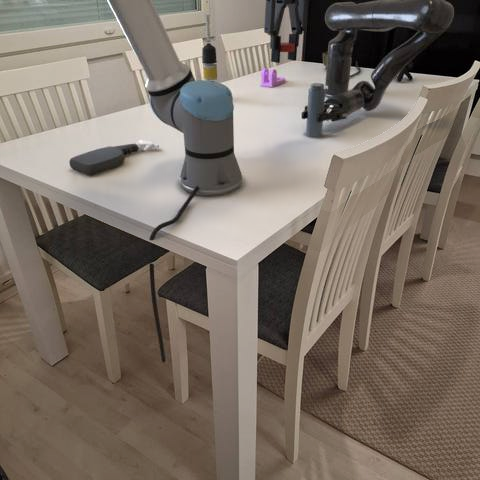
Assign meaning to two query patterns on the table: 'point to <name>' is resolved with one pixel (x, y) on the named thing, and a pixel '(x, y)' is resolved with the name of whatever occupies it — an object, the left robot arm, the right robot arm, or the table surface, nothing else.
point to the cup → (325, 59)
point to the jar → (315, 109)
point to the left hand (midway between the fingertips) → (283, 60)
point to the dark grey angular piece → (405, 72)
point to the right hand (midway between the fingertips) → (310, 117)
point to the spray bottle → (106, 157)
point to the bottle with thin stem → (209, 57)
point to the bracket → (270, 78)
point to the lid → (287, 47)
